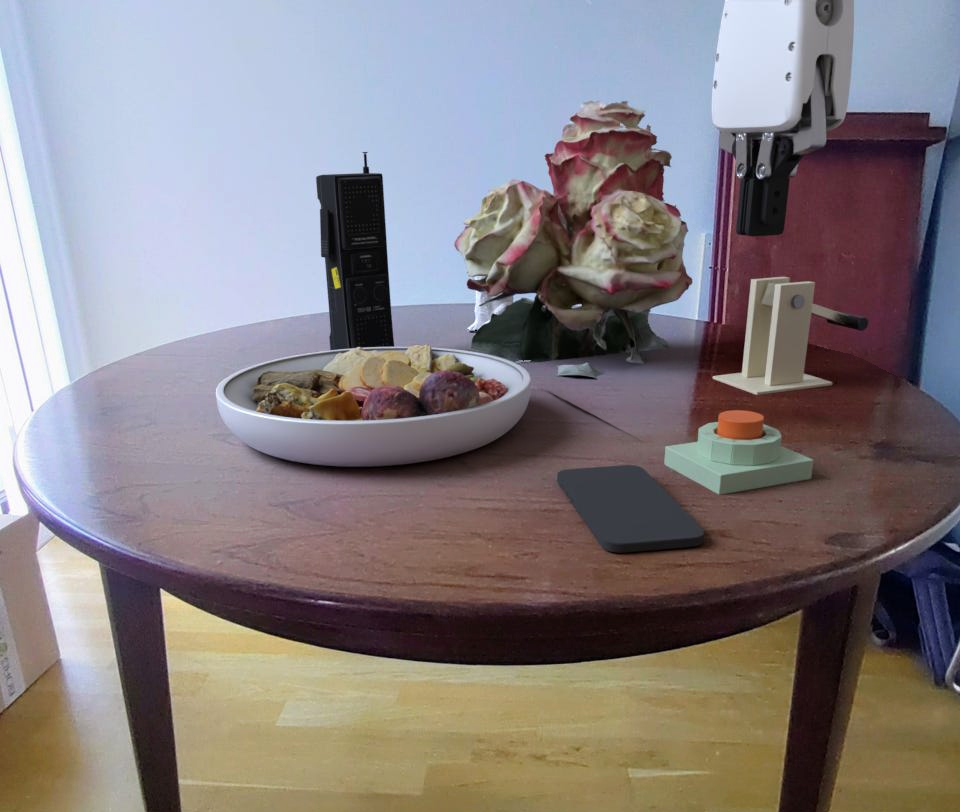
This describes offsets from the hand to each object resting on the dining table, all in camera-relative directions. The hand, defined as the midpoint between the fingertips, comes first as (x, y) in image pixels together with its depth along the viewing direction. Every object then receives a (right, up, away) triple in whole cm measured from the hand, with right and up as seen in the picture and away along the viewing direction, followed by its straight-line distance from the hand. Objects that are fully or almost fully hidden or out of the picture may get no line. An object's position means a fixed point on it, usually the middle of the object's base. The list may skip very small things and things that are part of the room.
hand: (759, 234), depth 68 cm
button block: (0, -18, +7) cm, 19 cm away
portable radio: (-37, -1, +49) cm, 61 cm away
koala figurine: (-20, +7, +67) cm, 70 cm away
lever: (+15, +1, +31) cm, 34 cm away
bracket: (+11, -7, +32) cm, 35 cm away
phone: (-10, -21, 0) cm, 23 cm away
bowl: (-31, -13, +21) cm, 40 cm away
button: (0, -15, +6) cm, 16 cm away
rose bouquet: (-8, -1, +46) cm, 47 cm away
